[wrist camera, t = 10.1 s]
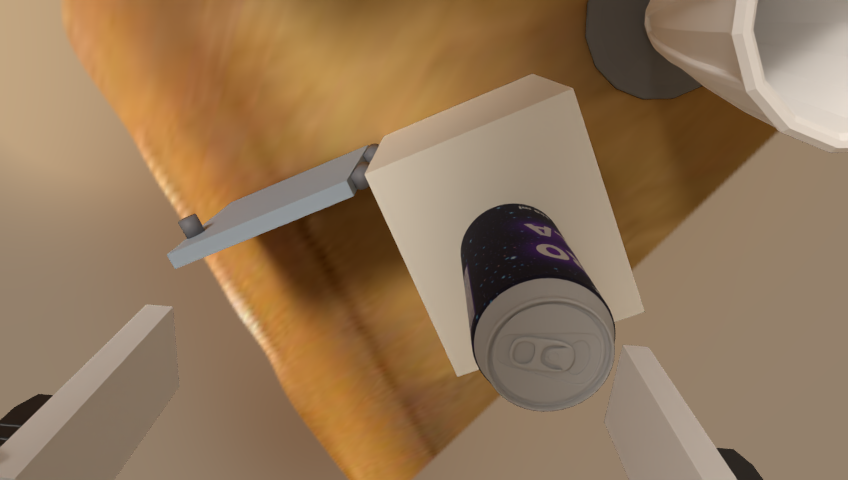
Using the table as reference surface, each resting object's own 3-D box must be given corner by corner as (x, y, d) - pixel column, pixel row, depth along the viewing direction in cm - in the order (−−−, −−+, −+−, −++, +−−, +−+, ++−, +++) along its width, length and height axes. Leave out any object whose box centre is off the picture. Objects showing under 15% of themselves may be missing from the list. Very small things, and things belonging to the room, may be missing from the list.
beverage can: (547, 297, 34) (605, 429, 22) (452, 284, 33) (462, 411, 22) (568, 206, 32) (643, 299, 20) (468, 192, 32) (487, 279, 20)
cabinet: (383, 136, 44) (364, 174, 31) (532, 73, 42) (573, 88, 30) (451, 290, 48) (457, 376, 36) (588, 239, 46) (644, 311, 34)
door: (223, 189, 45) (156, 237, 34) (374, 124, 43) (354, 154, 32) (237, 214, 45) (176, 270, 35) (387, 152, 43) (372, 190, 33)
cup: (775, 37, 41) (1115, 37, 20) (632, 130, 43) (810, 213, 23) (703, -113, 38) (1019, -288, 17) (554, -3, 40) (678, -46, 20)
